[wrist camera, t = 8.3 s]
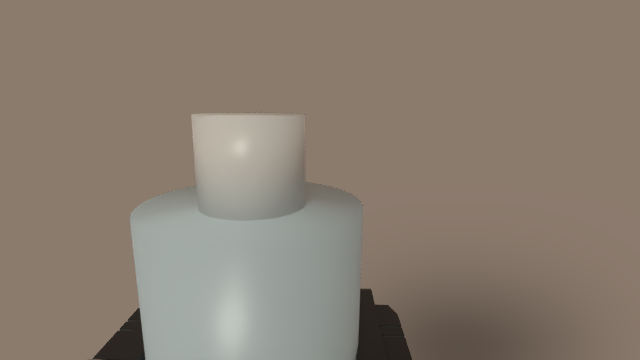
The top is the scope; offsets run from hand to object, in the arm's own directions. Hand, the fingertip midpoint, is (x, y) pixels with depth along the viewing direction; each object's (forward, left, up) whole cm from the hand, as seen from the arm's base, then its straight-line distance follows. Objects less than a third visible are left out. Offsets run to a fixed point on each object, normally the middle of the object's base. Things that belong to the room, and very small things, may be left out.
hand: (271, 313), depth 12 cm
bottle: (0, +3, -6) cm, 7 cm away
